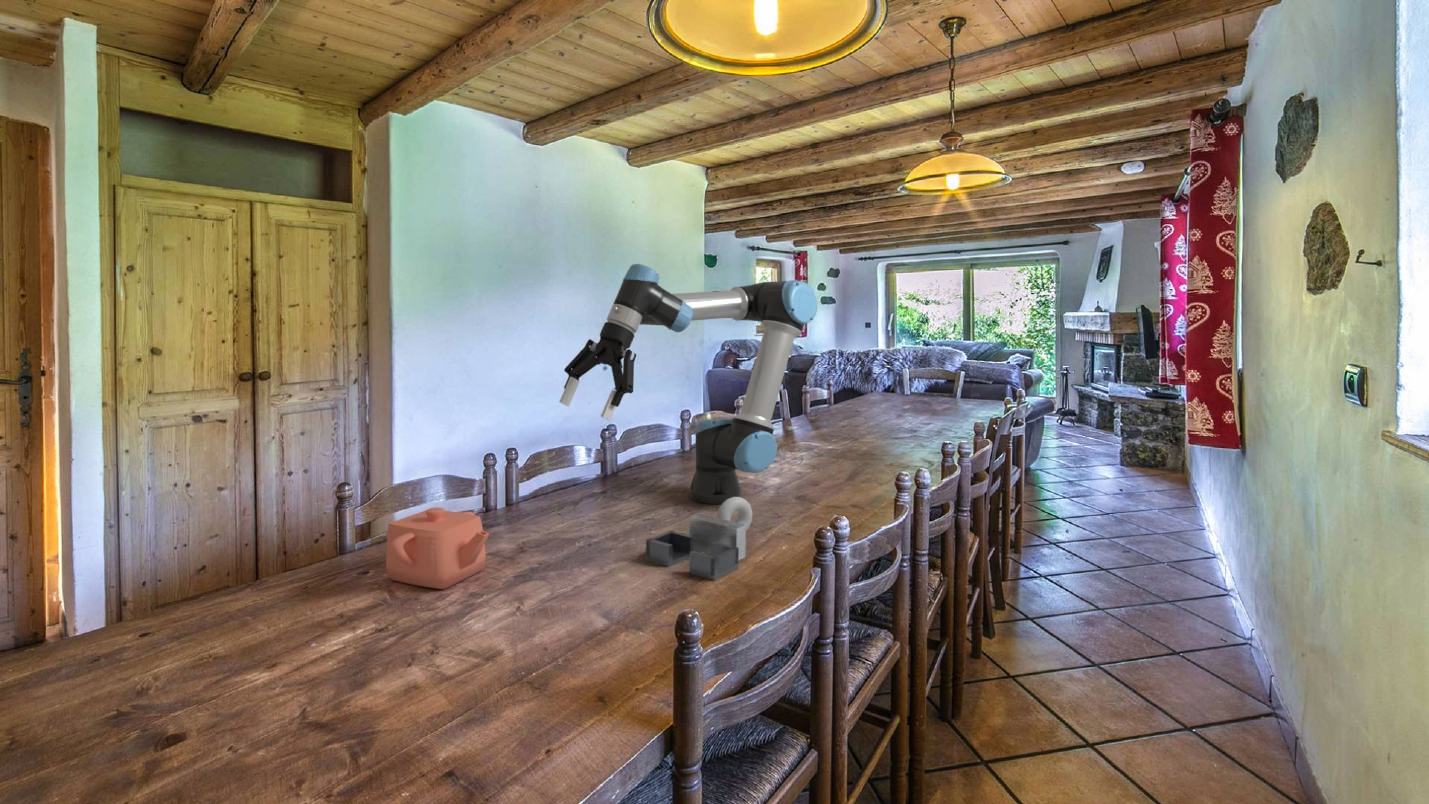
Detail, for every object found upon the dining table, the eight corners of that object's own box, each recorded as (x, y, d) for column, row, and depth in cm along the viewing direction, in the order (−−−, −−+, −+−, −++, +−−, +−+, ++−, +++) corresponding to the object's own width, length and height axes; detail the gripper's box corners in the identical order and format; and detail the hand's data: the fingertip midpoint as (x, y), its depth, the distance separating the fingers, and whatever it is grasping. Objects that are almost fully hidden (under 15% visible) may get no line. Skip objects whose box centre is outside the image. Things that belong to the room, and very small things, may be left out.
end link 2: (714, 561, 146) (714, 541, 146) (738, 568, 143) (738, 547, 142) (689, 573, 140) (689, 552, 139) (714, 580, 136) (714, 559, 135)
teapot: (364, 590, 130) (360, 520, 128) (447, 553, 150) (445, 492, 148) (446, 607, 123) (443, 533, 121) (522, 566, 143) (520, 502, 141)
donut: (721, 543, 158) (721, 501, 157) (712, 539, 161) (713, 498, 160) (755, 535, 164) (755, 495, 163) (746, 532, 167) (747, 492, 165)
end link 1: (671, 549, 154) (671, 530, 153) (693, 555, 150) (693, 536, 149) (646, 560, 147) (646, 540, 146) (668, 567, 143) (668, 546, 143)
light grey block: (698, 545, 157) (699, 513, 156) (745, 557, 150) (745, 524, 149) (689, 549, 154) (689, 517, 153) (736, 562, 147) (736, 528, 146)
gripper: (573, 312, 162) (537, 393, 159) (651, 330, 148) (613, 419, 145) (592, 325, 168) (558, 403, 165) (669, 343, 155) (633, 429, 151)
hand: (584, 411), depth 155 cm, fingers open, 13 cm apart
